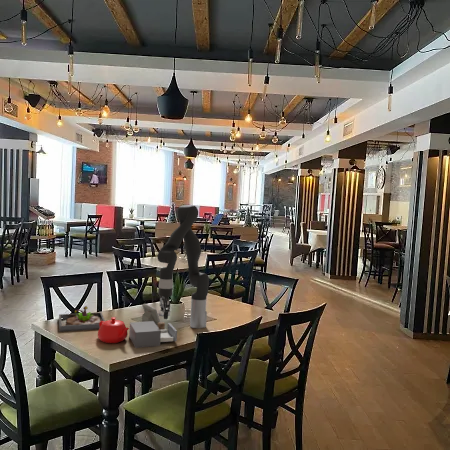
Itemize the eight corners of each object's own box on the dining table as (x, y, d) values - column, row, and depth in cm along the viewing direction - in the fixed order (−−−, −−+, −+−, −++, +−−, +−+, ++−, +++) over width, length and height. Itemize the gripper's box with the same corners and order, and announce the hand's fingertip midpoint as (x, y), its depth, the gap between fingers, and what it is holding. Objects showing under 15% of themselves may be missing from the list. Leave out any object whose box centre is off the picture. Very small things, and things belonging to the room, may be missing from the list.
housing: (152, 335, 236) (153, 321, 235) (160, 345, 219) (160, 330, 219) (129, 336, 231) (129, 322, 230) (135, 347, 214) (135, 332, 214)
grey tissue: (161, 326, 253) (161, 308, 253) (146, 327, 250) (147, 309, 249) (154, 318, 268) (154, 302, 268) (140, 319, 265) (140, 303, 264)
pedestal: (163, 330, 245) (163, 321, 245) (165, 332, 241) (165, 323, 241) (156, 330, 244) (157, 322, 243) (158, 332, 240) (158, 324, 240)
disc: (168, 312, 232) (168, 309, 232) (171, 316, 226) (171, 312, 226) (157, 313, 230) (157, 309, 230) (159, 316, 224) (160, 312, 224)
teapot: (87, 338, 225) (87, 315, 224) (111, 332, 237) (112, 310, 237) (115, 350, 210) (116, 326, 209) (140, 343, 222) (141, 320, 221)
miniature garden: (70, 330, 237) (71, 311, 237) (63, 321, 254) (63, 303, 253) (105, 326, 248) (106, 307, 248) (96, 317, 265) (96, 300, 264)
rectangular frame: (101, 316, 266) (101, 312, 266) (105, 328, 243) (106, 323, 243) (59, 319, 256) (59, 314, 256) (59, 331, 233) (59, 326, 233)
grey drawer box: (169, 332, 238) (170, 322, 237) (177, 341, 224) (177, 330, 224) (147, 334, 233) (147, 324, 232) (153, 343, 219) (153, 332, 219)
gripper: (175, 289, 222) (174, 320, 223) (169, 284, 235) (167, 313, 236) (162, 289, 219) (160, 321, 220) (155, 284, 233) (154, 314, 233)
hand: (164, 317), depth 228 cm, fingers closed on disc, 6 cm apart
